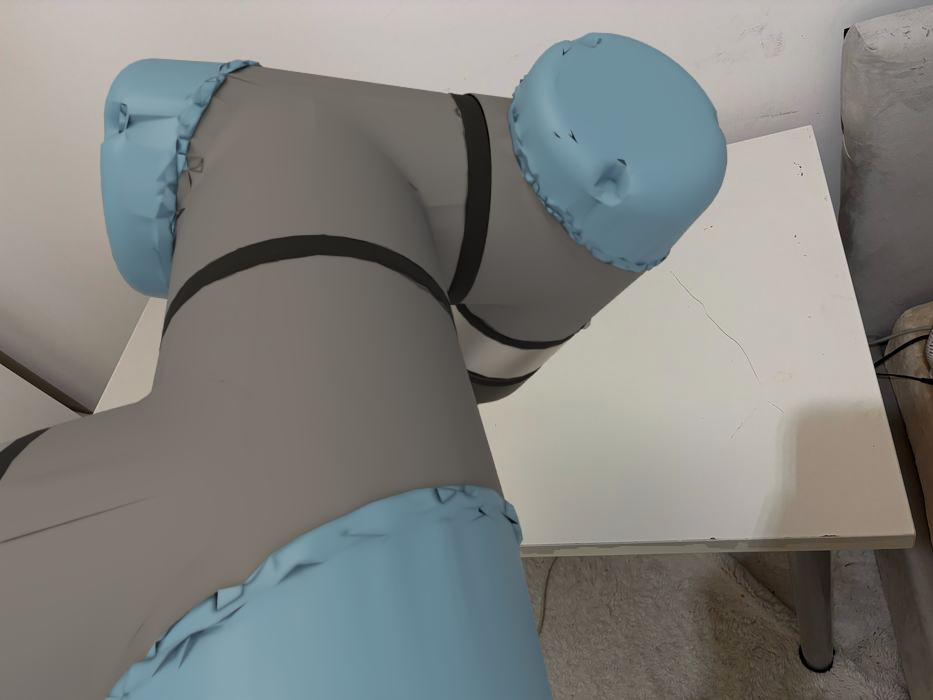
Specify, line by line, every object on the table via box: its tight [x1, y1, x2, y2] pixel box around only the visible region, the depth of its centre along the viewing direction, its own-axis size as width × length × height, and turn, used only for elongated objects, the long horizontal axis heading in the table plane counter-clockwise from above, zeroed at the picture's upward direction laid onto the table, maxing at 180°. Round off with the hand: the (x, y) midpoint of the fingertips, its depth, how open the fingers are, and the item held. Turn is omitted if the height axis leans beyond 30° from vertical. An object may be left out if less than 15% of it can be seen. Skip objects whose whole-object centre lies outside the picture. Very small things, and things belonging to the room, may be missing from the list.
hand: (411, 425), depth 52 cm, fingers open, 13 cm apart
